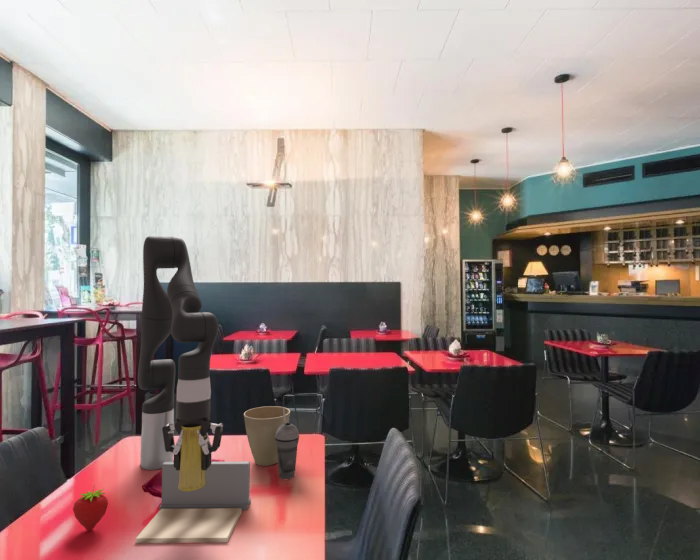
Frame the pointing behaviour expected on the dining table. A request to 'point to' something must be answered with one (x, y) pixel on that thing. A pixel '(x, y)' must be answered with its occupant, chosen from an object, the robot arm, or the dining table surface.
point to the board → (190, 526)
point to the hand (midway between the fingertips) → (192, 468)
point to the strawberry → (90, 508)
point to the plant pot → (264, 432)
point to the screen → (209, 487)
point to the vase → (191, 461)
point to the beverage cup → (286, 449)
